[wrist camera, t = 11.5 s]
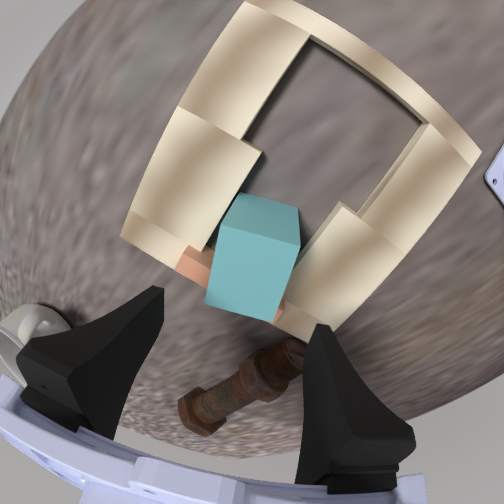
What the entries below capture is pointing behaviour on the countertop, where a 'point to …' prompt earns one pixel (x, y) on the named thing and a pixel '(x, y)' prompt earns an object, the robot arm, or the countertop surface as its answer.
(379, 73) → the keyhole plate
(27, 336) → the teacup
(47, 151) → the countertop surface
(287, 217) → the slider block
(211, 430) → the bolt
